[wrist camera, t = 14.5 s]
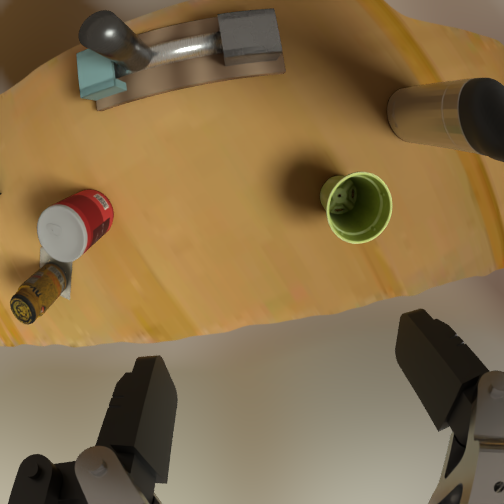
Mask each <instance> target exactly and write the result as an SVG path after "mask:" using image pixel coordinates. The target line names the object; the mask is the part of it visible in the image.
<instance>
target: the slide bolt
mask: <svg viewBox="0 0 504 504" xmlns="http://www.w3.org/2000/svg"><path fill="white" fill-rule="evenodd" d="M79 41H80V43H81V44H82V45H83V46H85V47H87V48H89V49H91V50H92V51H94V52H96V53H98V54H100V55H102V56H104V57H106V58H108V59H109V60H111V61H113V62H114V71H115V78H116V79H117V78H120V77H123V76H126V75H129V74H133V73H136V72H139V71H143V70H147V69H150V68H154V67H158V66H162V65H166V64H170V63H174V62H178V61H183V60H187V59H192V58H197V57H203V56H208V55H214V54H220V53H224V52H223V46H222V40H221V34H220V31H219V32H213V33H207V34H202V35H196V36H191V37H186V38H182V39H177V40H173V41H169V42H165V43H161V44H157V45H153V46H149V47H148V46H147V45H146V44H145V43H144V42H143V41H142V40H141V39H140V38H139V37H138V36H137V35H136V34H135V33H134V32H133V31H132V30H131V29H130V28H129V27H128V26H127V25H126V24H125V23H124V22H122V21H121V20H120V19H119V18H118V17H117V16H116V15H115V14H114V13H113V12H111V11H99V12H96V13H94V14H92V15H91V16H89V17H88V18H87V19H86V20H85V21H84V23H83V24H82V26H81V28H80V31H79Z"/></svg>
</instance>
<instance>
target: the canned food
mask: <svg viewBox="0 0 504 504" xmlns="http://www.w3.org/2000/svg"><path fill="white" fill-rule="evenodd" d="M113 217H114V212H113V207H112V205H111V203H110V201H109V199H108V198H107V197H106V196H105V195H104V194H102V193H101V192H99V191H96V190H84V191H81V192H79V193H76V194H74V195H72V196H70V197H68V198H66V199H63V200H61V201H59V202H57V203H55V204H53V205H51V206H50V207H48V208H47V209H46V210H44V211H43V212H42V214H41V215H40V217H39V220H38V224H37V233H38V238H39V241H40V243H41V245H42V247H43V249H44V250H45V251H46V252H47V253H48V254H49V255H50V256H51V257H52V258H54V259H55V260H58V261H61V262H71V261H74V260H76V259H77V258H79V257H80V256H81V255H83V254H84V253H85V252H86V251H87V250H88V249H89V248H90V247H91V246H92V245H93V244H94V243H95V242H97V241H98V240H99V239H100V238H101V237H102V236H103V235H104V234H105V233H106V232H107V231H108V230H109V229H110V227H111V225H112V222H113Z"/></svg>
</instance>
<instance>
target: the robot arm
mask: <svg viewBox="0 0 504 504" xmlns="http://www.w3.org/2000/svg"><path fill="white" fill-rule="evenodd" d="M387 116H388V121H389V123H390V126H391V128H392V130H393V131H394V133H395V134H396V135H397V136H398V137H399V138H401V139H402V140H404V141H406V142H410V143H417V144H423V145H430V146H437V147H443V148H449V149H455V150H461V151H466V152H472V153H477V154H481V155H485V156H489V157H490V158H493V159H495V160H498V161H502V162H504V86H503V85H502V84H501V83H499V82H498V81H496V80H494V79H491V78H475V79H464V80H456V81H447V82H440V83H432V84H426V85H419V86H413V87H407V88H402V89H399V90H397V91H396V92H395V93H393V94H392V96H391V97H390V99H389V102H388V106H387ZM395 354H396V359H397V362H398V364H399V366H400V368H401V369H402V371H403V372H404V374H405V376H406V377H407V379H408V381H409V382H410V384H411V385H412V387H413V389H414V390H415V392H416V393H417V395H418V397H419V399H420V400H421V402H422V404H423V406H424V407H425V409H426V410H427V412H428V414H429V416H430V418H431V419H432V421H433V423H434V425H435V426H436V428H437V430H438V431H441V430H443V429H445V428H447V427H449V426H450V427H451V429H452V433H451V436H450V440H449V444H448V449H447V453H446V457H445V461H444V465H443V469H442V473H441V477H440V480H439V483H438V485H437V488H436V489H435V491H434V493H433V495H432V497H431V499H430V501H429V503H428V504H504V372H502V371H489V370H488V369H487V368H486V367H485V366H484V364H483V363H482V362H481V361H480V360H479V358H478V357H477V356H476V355H475V354H474V353H473V352H472V350H471V349H470V348H469V347H468V346H467V345H466V344H464V341H463V340H462V339H461V338H460V337H459V336H457V334H456V333H455V331H454V330H453V329H452V328H451V327H450V326H449V325H447V324H445V323H444V322H442V321H440V320H438V319H435V320H433V318H432V317H431V316H430V315H429V314H428V313H427V312H426V311H425V310H424V309H418V310H414V311H411V312H407V313H404V314H402V315H401V317H400V322H399V329H398V335H397V342H396V348H395ZM112 396H113V398H111V401H110V404H109V408H108V409H107V412H106V415H105V418H104V421H103V425H102V427H101V430H100V433H99V437H98V440H97V443H96V445H95V446H93V447H90V448H88V449H86V450H84V451H83V452H82V453H81V454H80V455H79V456H78V458H77V460H76V461H73V462H66V463H58V464H53V463H52V462H51V461H50V460H49V459H48V458H46V457H45V456H43V455H40V454H34V455H31V456H29V457H27V458H26V459H24V460H23V462H22V463H21V465H20V467H19V470H18V472H17V476H16V478H15V482H14V485H13V488H12V491H11V495H10V498H9V502H8V504H162V503H161V501H160V500H159V498H158V497H157V496H156V494H155V493H154V487H155V483H167V479H168V470H169V462H170V453H171V446H172V438H173V431H174V423H175V416H176V409H177V392H176V388H175V386H174V383H173V381H172V379H171V377H170V374H169V372H168V370H167V368H166V365H165V363H164V361H163V359H162V357H161V356H147V357H138V358H137V359H136V362H135V365H134V368H133V371H132V372H130V373H125V374H124V376H123V377H122V378H121V379H120V380H119V381H118V383H117V384H116V387H115V389H114V392H113V395H112Z"/></svg>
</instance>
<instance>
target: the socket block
mask: <svg viewBox="0 0 504 504" xmlns="http://www.w3.org/2000/svg"><path fill="white" fill-rule="evenodd" d="M77 67H78V78H79V88H80V97H81V98H84V99H90V100H95V101H97V100H99V99H102V98H105V97H108V96H111V95H114V94H117V93H120V92H123V91H127V87H126V83H125V82H123V81H121V80H118V79H116V78H115V71H114V62H113V61H111V60H109V59H108V58H106V57H104V56H102V55H100V54H98V53H96V52H94V51H92V50H91V49H86V50H84V51H81V52H79V53H77Z"/></svg>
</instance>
